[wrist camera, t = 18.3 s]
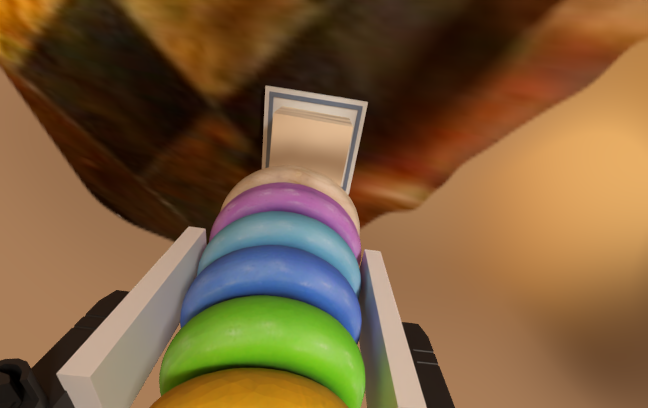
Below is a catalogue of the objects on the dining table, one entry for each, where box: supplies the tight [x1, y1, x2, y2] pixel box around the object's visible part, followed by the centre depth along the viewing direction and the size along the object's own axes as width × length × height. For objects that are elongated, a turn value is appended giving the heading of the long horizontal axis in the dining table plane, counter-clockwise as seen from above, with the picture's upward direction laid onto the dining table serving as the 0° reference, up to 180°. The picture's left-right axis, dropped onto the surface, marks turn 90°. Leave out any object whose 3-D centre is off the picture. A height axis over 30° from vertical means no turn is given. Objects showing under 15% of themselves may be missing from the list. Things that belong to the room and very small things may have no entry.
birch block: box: [269, 106, 353, 187], centre depth 30 cm, size 8×8×6 cm
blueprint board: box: [262, 86, 368, 195], centre depth 34 cm, size 12×12×1 cm
